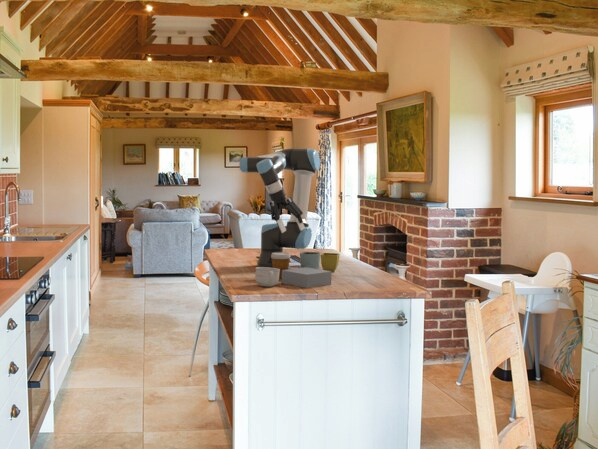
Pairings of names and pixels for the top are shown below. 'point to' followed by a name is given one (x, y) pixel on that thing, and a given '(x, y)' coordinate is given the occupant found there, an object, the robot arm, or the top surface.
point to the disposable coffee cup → (280, 261)
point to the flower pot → (329, 261)
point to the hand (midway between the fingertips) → (293, 230)
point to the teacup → (267, 276)
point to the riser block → (306, 277)
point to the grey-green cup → (310, 259)
